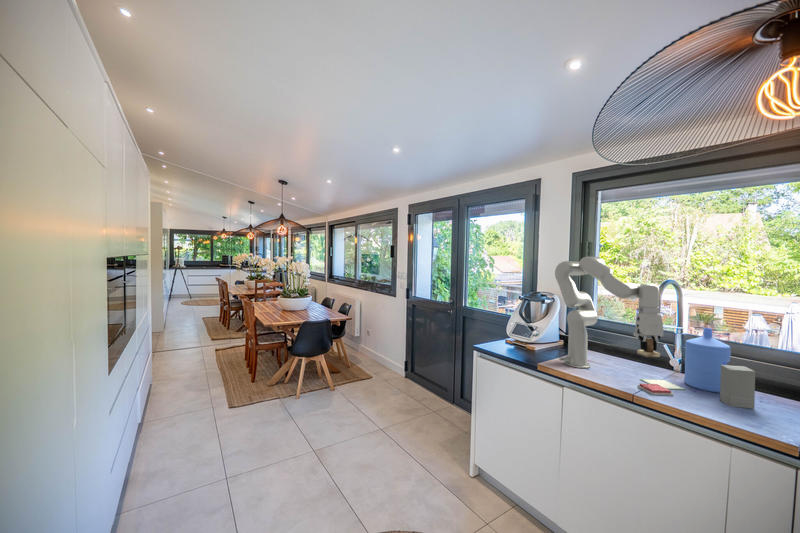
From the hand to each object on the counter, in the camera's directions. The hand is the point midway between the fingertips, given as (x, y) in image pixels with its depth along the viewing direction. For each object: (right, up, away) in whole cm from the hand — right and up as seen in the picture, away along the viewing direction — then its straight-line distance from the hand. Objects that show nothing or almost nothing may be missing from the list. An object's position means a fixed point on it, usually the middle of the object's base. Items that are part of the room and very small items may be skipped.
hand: (648, 349), depth 148 cm
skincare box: (+23, -19, -17) cm, 34 cm away
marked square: (+10, -18, +4) cm, 21 cm away
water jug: (+30, -19, +3) cm, 35 cm away
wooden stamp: (0, -3, 0) cm, 3 cm away
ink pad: (0, -18, -4) cm, 18 cm away
